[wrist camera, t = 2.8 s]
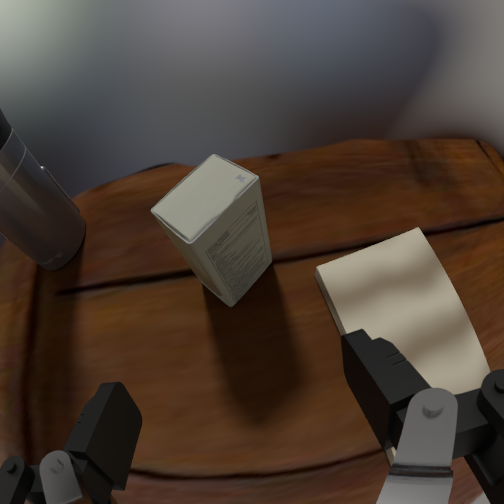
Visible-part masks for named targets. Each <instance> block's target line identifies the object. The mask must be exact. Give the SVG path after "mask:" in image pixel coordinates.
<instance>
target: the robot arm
mask: <svg viewBox="0 0 504 504" xmlns="http://www.w3.org/2000/svg"><path fill="white" fill-rule="evenodd" d="M0 233H1V234H3V235H4V236H5V237H6V238H7V239H8V240H9V241H10V242H12V243H13V244H14V245H15V246H16V247H18V248H19V249H20V250H21V251H23V252H24V253H25V254H26V255H27V256H29V257H30V258H31V259H33V260H34V261H35V262H36V263H38V264H39V265H40V266H42V267H43V268H44V269H46V270H56V269H59V268H61V267H62V266H64V265H65V264H66V263H68V262H69V261H70V260H71V259H72V258H73V256H74V255H75V254H76V252H77V251H78V249H79V247H80V245H81V243H82V241H83V238H84V234H85V221H84V219H83V217H82V216H81V215H80V214H79V208H78V207H77V206H76V205H75V204H74V203H73V201H72V200H71V199H70V198H69V197H68V195H67V194H66V193H65V192H64V191H63V189H62V188H61V187H60V186H59V185H58V183H57V182H56V181H55V180H54V178H53V177H52V176H51V174H50V173H49V172H48V171H47V169H46V168H45V167H40V166H39V164H38V163H37V162H36V160H35V159H34V158H33V156H32V155H31V154H30V152H29V151H28V150H27V148H26V147H25V146H24V144H23V143H22V142H21V140H20V139H19V137H18V136H17V135H16V133H15V132H14V130H13V129H12V127H11V126H10V124H9V123H8V121H7V120H6V118H5V117H4V115H3V113H2V111H1V109H0ZM341 345H342V355H343V366H344V373H345V377H346V380H347V383H348V385H349V387H350V389H351V391H352V392H353V394H354V396H355V398H356V400H357V402H358V404H359V405H360V407H361V409H362V411H363V413H364V415H365V417H366V418H367V420H368V422H369V424H370V426H371V428H372V430H373V432H374V433H375V435H376V437H377V439H378V441H379V443H380V445H381V447H382V449H383V451H385V450H388V449H390V448H392V447H394V448H395V450H396V454H395V457H394V460H393V463H392V466H391V468H390V470H389V473H388V475H387V478H386V480H385V483H384V486H383V488H382V491H381V493H380V496H379V498H378V501H377V503H376V504H447V503H448V500H449V496H450V491H451V487H452V482H453V471H451V460H452V459H456V458H459V457H462V456H463V457H464V458H465V460H466V462H467V463H468V465H469V467H470V468H471V470H472V472H473V473H474V475H475V477H476V478H477V480H478V482H479V484H480V485H481V487H482V489H483V491H484V493H485V494H486V496H487V498H488V500H489V502H490V503H491V504H504V369H499V370H495V371H492V372H490V373H489V374H488V375H486V377H485V378H484V379H483V381H482V384H481V387H480V388H478V389H474V390H471V391H468V392H464V393H461V394H455V395H453V394H452V393H451V392H449V391H448V390H445V389H442V388H432V387H431V386H430V385H429V384H428V383H427V381H426V380H425V379H424V378H423V377H422V376H421V375H420V373H419V372H418V371H417V370H416V369H415V368H414V367H413V365H412V364H411V363H410V362H409V361H407V360H406V358H405V356H404V355H403V354H402V353H400V351H399V350H398V349H397V348H396V346H395V345H394V344H393V343H392V342H390V341H387V340H385V339H383V338H381V337H379V338H376V339H374V340H372V339H371V338H370V336H369V335H368V334H367V333H366V332H365V330H364V329H359V330H356V331H353V332H350V333H347V334H344V335H342V336H341ZM80 415H81V416H79V418H78V420H77V424H75V426H74V428H73V430H72V432H71V434H70V436H69V438H68V440H67V442H66V444H65V446H64V448H63V450H62V451H53V452H51V453H49V454H47V455H46V456H45V457H44V458H43V460H42V461H41V463H40V464H39V465H30V466H29V465H28V464H27V463H26V462H25V461H24V460H23V459H22V458H21V457H20V456H12V457H9V458H8V459H7V460H5V461H4V463H3V464H2V466H1V468H0V504H24V502H25V499H26V500H28V501H29V502H30V503H31V504H117V502H116V500H115V498H114V497H113V496H112V495H111V491H112V489H113V490H122V491H125V487H126V482H127V478H128V474H129V471H130V467H131V463H132V459H133V455H134V452H135V448H136V444H137V441H138V437H139V434H140V430H141V426H142V416H141V413H140V410H139V409H138V407H137V406H136V404H135V402H134V401H133V399H132V398H131V396H130V395H129V393H128V391H127V390H126V388H125V386H124V385H123V384H122V383H121V382H111V383H102V384H101V385H100V386H99V388H98V390H97V392H96V394H95V396H94V397H93V398H92V399H91V400H90V401H89V402H88V403H87V404H86V405H85V406H84V408H83V410H82V412H81V414H80Z"/></svg>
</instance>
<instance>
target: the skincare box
mask: <svg viewBox="0 0 504 504" xmlns="http://www.w3.org/2000/svg"><path fill="white" fill-rule="evenodd" d="M151 212H152V214H153V215H154V217H155V218H156V219H157V221H158V222H159V224H160V225H161V227H162V228H163V230H164V231H165V232H166V234H167V235H168V237H169V238H170V240H171V241H172V243H173V244H174V245H175V247H176V248H177V250H178V251H179V252H180V254H181V255H182V257H183V258H184V259H185V261H186V262H187V263H188V265H189V266H190V268H191V269H192V270H193V272H194V273H195V274H196V276H197V277H198V278H199V280H200V281H201V282H202V283H203V284H204V285H205V286H206V287H207V288H208V289H209V290H210V291H211V292H213V293H214V294H215V295H216V296H217V297H218V298H219V299H221V300H222V301H223V302H224V303H225V304H227V305H228V306H229V307H232V306H234V305H235V304H236V302H237V301H238V300H239V299H240V298H241V297H242V296H243V295H244V294H245V293H246V292H247V291H248V290H249V288H250V287H251V286H252V285H253V284H254V283H255V282H256V280H257V279H258V278H259V277H260V276H261V275H262V273H263V272H264V271H265V270H266V269H267V267H268V266H269V265H270V264H271V262H272V257H271V251H270V244H269V238H268V231H267V225H266V219H265V212H264V206H263V200H262V194H261V187H260V181H259V177H258V176H257V175H255V174H253V173H251V172H250V171H248V170H246V169H244V168H242V167H240V166H238V165H236V164H235V163H233V162H231V161H229V160H227V159H225V158H222V157H220V156H218V155H215V154H213V155H211V156H210V157H209V158H208V159H206V160H205V161H204V162H203V163H201V164H200V165H199V166H198V167H196V168H195V169H194V170H193V171H192V172H191V173H189V174H188V175H187V176H186V177H185V178H184V179H183V180H181V181H180V182H179V183H178V184H177V185H176V186H175V187H174V188H173V189H172V190H171V191H170V192H168V193H167V194H166V195H165V196H164V197H163V198H162V199H161V200H160V201H159V202H158V203H157V204H156V205H155V206H154V207H153V208H152V209H151Z"/></svg>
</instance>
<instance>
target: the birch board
mask: <svg viewBox="0 0 504 504" xmlns="http://www.w3.org/2000/svg"><path fill="white" fill-rule="evenodd" d="M315 278H316V280H317V282H318V284H319V287H320V289H321V291H322V293H323V295H324V298H325V300H326V302H327V304H328V307H329V309H330V311H331V314H332V316H333V318H334V320H335V323H336V325H337V327H338V330H339V332H340V335H341V336H342V335H344V334H347V333H350V332H353V331H356V330H359V329H364V330H365V332H366V333H367V334H368V335H369V336H370V338H371V339H372V340H374V339H376V338H379V337H381V338H383V339H385V340H387V341H390V342H392V343H393V344H394V345H395V346H396V348H397V349H398V350H399V351H400V353H402V354H403V355H404V356H405V358H406V360H407V361H409V362H410V363H411V364H412V365H413V367H414V368H415V369H416V370H417V371H418V372H419V373H420V375H421V376H422V377H423V378H424V379H425V380H426V381H427V383H428V384H429V385H430V386H431V387H432V388H442V389H445V390H448V391H449V392H451V393H452V394H453V395H455V394H461V393H464V392H468V391H471V390H474V389H478V388H480V387H481V384H482V381H483V379H484V378H485V377H486V375H488V374H489V373H490V370H489V367H488V364H487V361H486V358H485V356H484V353H483V351H482V348H481V346H480V343H479V341H478V338H477V336H476V333H475V331H474V329H473V327H472V324H471V322H470V320H469V318H468V315H467V313H466V311H465V309H464V307H463V305H462V303H461V301H460V299H459V297H458V295H457V293H456V291H455V289H454V287H453V285H452V283H451V281H450V279H449V278H448V276H447V274H446V272H445V270H444V269H443V267H442V265H441V263H440V262H439V260H438V258H437V256H436V255H435V253H434V251H433V250H432V248H431V246H430V245H429V243H428V241H427V240H426V238H425V237H424V235H423V233H422V232H421V230H420V229H419V227H418V228H416V229H414V230H411V231H409V232H406V233H404V234H401V235H399V236H396V237H394V238H391V239H389V240H386V241H384V242H381V243H378V244H376V245H373V246H371V247H368V248H366V249H363V250H360V251H358V252H355V253H352V254H350V255H347V256H345V257H342V258H339V259H337V260H334V261H331V262H328V263H326V264H323V265H320V266H318V267H316V272H315ZM385 451H386V454H387V456H388V459H389V462H390V465H391V466H392V463H393V460H394V457H395V454H396V450H395V448H394V447H392V448H390V449H388V450H385Z"/></svg>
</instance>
